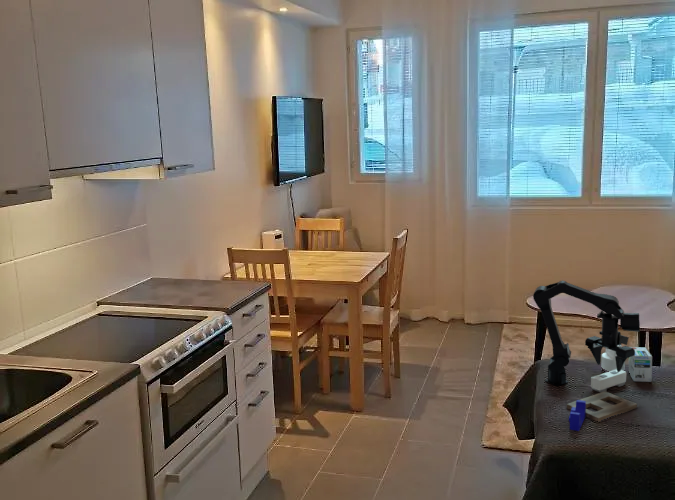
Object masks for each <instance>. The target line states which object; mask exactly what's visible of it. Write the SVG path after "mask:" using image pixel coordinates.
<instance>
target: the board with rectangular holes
mask: <svg viewBox="0 0 675 500" xmlns="http://www.w3.org/2000/svg"><path fill="white" fill-rule="evenodd" d="M579 400H582V401H586V417H585V418H587V419H590V420H592V421H595V422H597V421H598V423H600V422H602V421H601V420H603V419H606V418H608V417H611V416H614V415H616V416H618V415H617V414H619V415H622V414H624V413H627V412H630V411H632V410H635V409H637V408H638V404H637V403H636V402H632V401H631V400H628V399H626V398H623V397H621V396H618V395H615V394H613V393H610V392H608V391H604V392H601V393H600V392H598V393H595V394H593V395H590V396H586V397H584V398H581V399H579ZM576 401H577V400H575V401H572V402H569V403H567V404H566V409H569V410H570V411H571V409H572V407H576ZM609 401H610V402H613V403H615V404H612V403H609ZM588 408H592V409H594V410H596V409H597V410H596V411H592V410H590V409H588ZM621 413H622V414H621ZM614 417H615V416H614ZM611 418H612V417H611ZM608 419H609V418H608ZM606 420H607V419H606ZM599 421H600V422H599ZM603 421H604V420H603Z"/></svg>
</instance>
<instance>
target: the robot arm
mask: <svg viewBox="0 0 675 500" xmlns="http://www.w3.org/2000/svg"><path fill="white" fill-rule="evenodd" d="M560 294H565V295H567V296H570V297H573V298H576V299H578V300H581V301H583V302H585V303H589V304H591V305H593V306H595V307H596V308H597V309H599V310H600V311H599V313H597V315H596V319H601V330H600V331H598V332H599V334H598V335H601V337H599V336H596V335H593V336H590V337H587V338H586V339H585V340H584V341H585V342H584V346H586V347H587V348H588V350H589V351H590V353H591V354H592V356H593V358H594V360H595V362H596V364H597V365H598V366H599V365H601V360H602V350H603V348H605V349H606V348H607V349H610V350H613V351H616V355H617V356H615V359H616V367H617V372H620V371H621V368H622V366H623V364H624V362H625V363H626V360H627V359H629V357H631V356H635V350H634V349H633V348H631V347H632V346H627V345H628V342H629V338H630V337H628V336H625V335H622V333H621V331H619V327H620V329H621V330H623V331H624V332H625V331H627V332H640V327H641V323H640V313H639V312H625V311H624V309H623V308H622V307H621V305H620V304H619V303H620V302H619V299H618V298H617V297H616V295H615V296H614V295H611V294H605V293H597V292H594V291H591V290H588V289H585V288H583V287H580V286H578V285H575V284H572V283H570V282H567V281H566V280H559V281H557V282H554V283H550V284H548V285H539V286H537V287H536V288H535V291H534V292H533V296H532V299H533V300H534V303H535V304H536V306H537V308H538V309H539V310H540V312H541V314H542V315H541V316H542V317H543V321H544V324H545V327H546V329H547V332H548V337H549V338H550V342H551V345H552V356H551V357H550V358H549V361H548V365H547V378H546V379H544V381H545V383H549V384H551V385H553V386H555V387H559V386H561V385H565V384H567V383H569V381H568V380H567V372H566V369H567V368H565V367H567V366H568V365H569V364H570V359H571V356H572V351H571V349H570V345H569V343H568V342H567V343H565V342H564V340H563V339H562V336H561V333H560V330H559V326H558V322H557V320H556V317H555V313H554V311H553V308H552V307H553V306H552V298H554V297H556V296H558V295H560ZM619 322H620V323H619ZM617 345H623V346H622V347H617Z"/></svg>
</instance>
